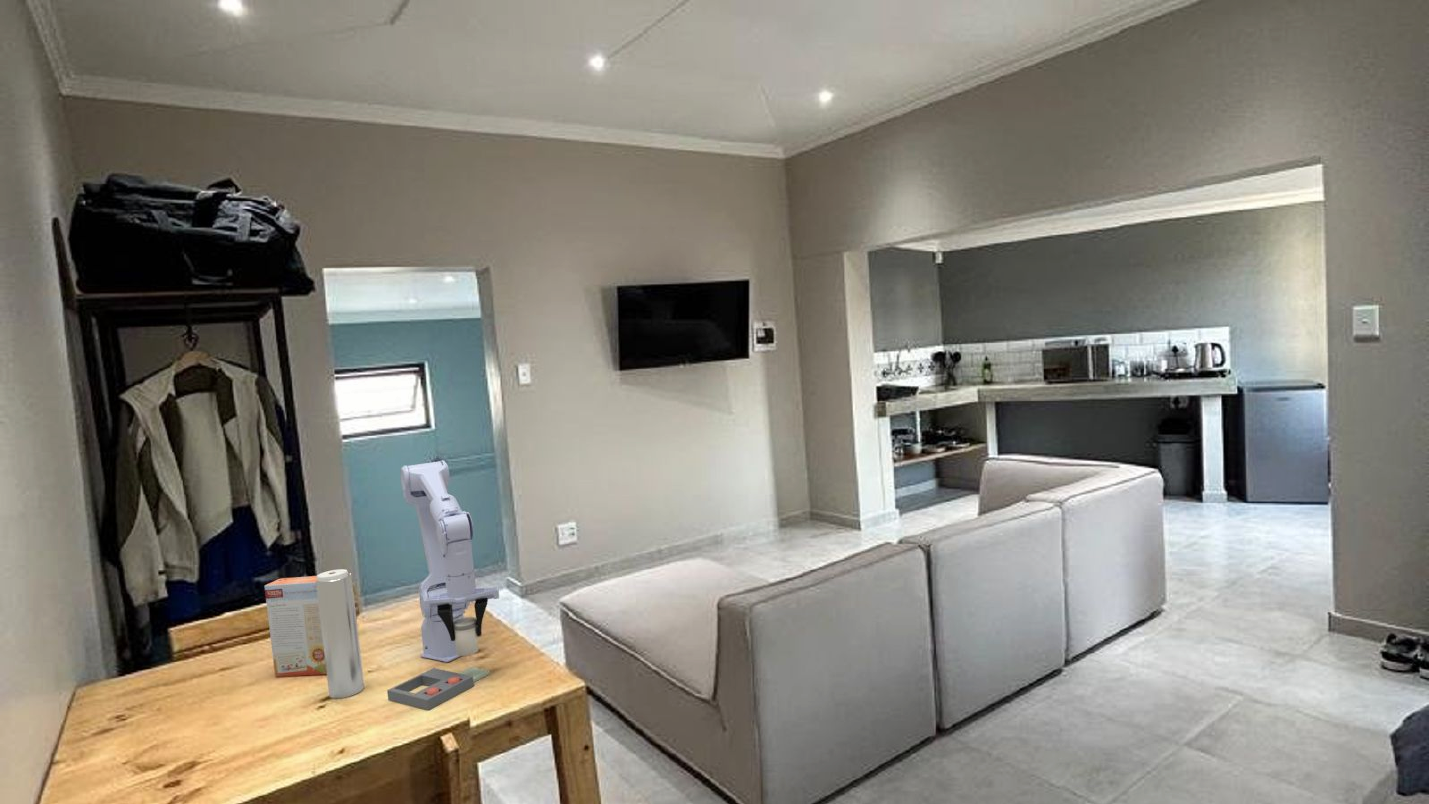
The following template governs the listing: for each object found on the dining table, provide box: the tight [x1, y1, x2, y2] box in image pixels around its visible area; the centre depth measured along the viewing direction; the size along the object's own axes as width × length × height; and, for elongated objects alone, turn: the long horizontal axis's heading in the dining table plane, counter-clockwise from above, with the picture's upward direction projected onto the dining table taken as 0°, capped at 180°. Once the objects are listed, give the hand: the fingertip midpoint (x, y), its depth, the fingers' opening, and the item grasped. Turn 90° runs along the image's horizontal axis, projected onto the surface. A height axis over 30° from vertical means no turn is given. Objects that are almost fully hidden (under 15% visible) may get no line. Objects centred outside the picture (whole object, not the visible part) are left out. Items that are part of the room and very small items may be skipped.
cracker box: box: [263, 575, 327, 678], centre depth 165 cm, size 14×6×21 cm, turn 84°
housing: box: [386, 667, 475, 711], centre depth 148 cm, size 12×11×2 cm
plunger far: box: [448, 676, 460, 685], centre depth 148 cm, size 2×2×2 cm
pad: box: [458, 667, 490, 683], centre depth 155 cm, size 6×5×1 cm
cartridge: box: [453, 616, 479, 657], centre depth 154 cm, size 5×5×6 cm
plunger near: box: [427, 687, 439, 696], centre depth 144 cm, size 2×2×2 cm
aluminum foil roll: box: [316, 568, 365, 700], centre depth 152 cm, size 6×6×25 cm
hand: (466, 637), depth 154 cm, fingers closed on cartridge, 4 cm apart
